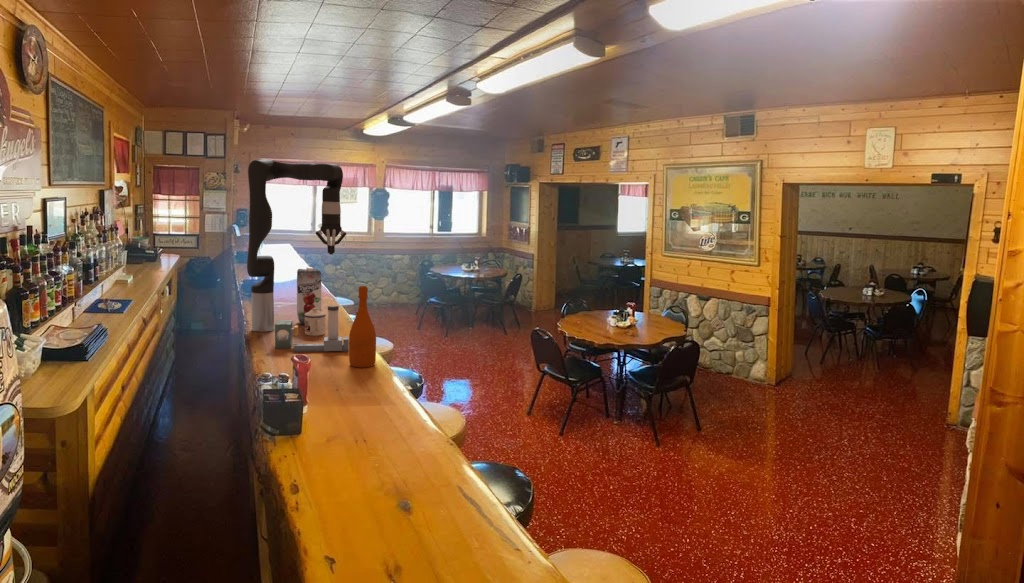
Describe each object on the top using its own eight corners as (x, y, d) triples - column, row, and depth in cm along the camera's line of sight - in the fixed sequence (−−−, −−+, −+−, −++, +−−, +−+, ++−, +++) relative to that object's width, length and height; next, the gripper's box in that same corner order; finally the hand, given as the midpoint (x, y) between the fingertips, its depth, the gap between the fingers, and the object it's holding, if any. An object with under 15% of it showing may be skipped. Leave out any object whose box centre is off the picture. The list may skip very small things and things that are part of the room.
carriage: (324, 347, 262) (324, 305, 259) (342, 347, 264) (342, 305, 261) (323, 351, 256) (323, 308, 253) (342, 350, 258) (342, 308, 255)
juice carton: (296, 321, 308) (296, 265, 303) (319, 320, 312) (319, 265, 308) (298, 325, 300) (298, 268, 295) (322, 324, 304) (322, 267, 300)
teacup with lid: (302, 332, 288) (302, 306, 286) (323, 330, 292) (322, 305, 290) (308, 338, 278) (308, 311, 276) (329, 336, 282) (329, 310, 280)
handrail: (294, 349, 259) (294, 337, 258) (348, 348, 264) (348, 336, 263) (293, 352, 254) (293, 340, 253) (348, 351, 259) (348, 339, 258)
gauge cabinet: (277, 343, 266) (276, 320, 264) (292, 343, 267) (292, 320, 266) (275, 349, 258) (274, 324, 256) (290, 348, 259) (290, 324, 258)
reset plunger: (275, 333, 263) (275, 325, 262) (298, 333, 265) (298, 325, 265) (274, 335, 260) (274, 327, 259) (297, 335, 262) (297, 327, 261)
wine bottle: (379, 362, 246) (380, 284, 241) (371, 369, 237) (371, 288, 232) (354, 360, 247) (354, 283, 242) (345, 367, 237) (345, 287, 233)
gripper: (313, 212, 263) (314, 255, 265) (347, 213, 266) (347, 255, 269) (315, 211, 270) (315, 253, 273) (347, 212, 273) (347, 253, 276)
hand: (331, 254), depth 271 cm, fingers closed
